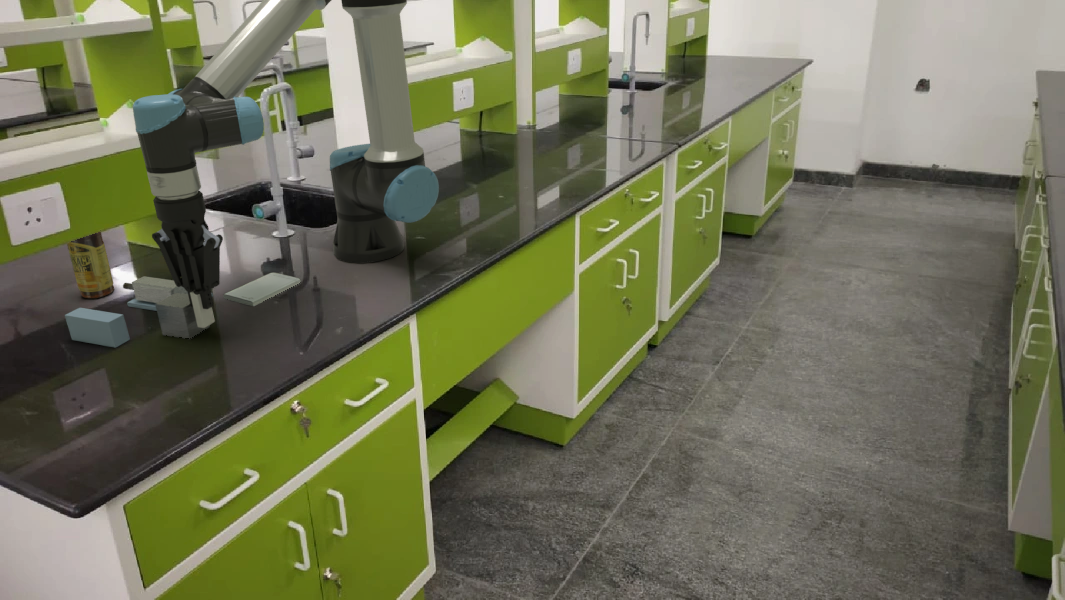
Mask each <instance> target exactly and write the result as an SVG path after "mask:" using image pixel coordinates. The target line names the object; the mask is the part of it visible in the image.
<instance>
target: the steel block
mask: <svg viewBox="0 0 1065 600" xmlns="http://www.w3.org/2000/svg"><path fill="white" fill-rule="evenodd" d="M155 306H156V310H157V311H156V314H157V318H158V322H159V325H160V329H161V334H162V336H166V335H167V336H168V337H172V336H174V337H173V338H179V337H182V338H181V339H185V338H189V339H188V340H191V339H193V338H194V336H195V335H196V336H198V335H199V334H201V333H203V332H204V331H206V330H207V329H209V328H210V325H209V326H207V327H205V328H201V327H198V326H197V321H196V317H195V313H194V308H193V307H191V305H190V301H189V296H188V294H182V293H174V294H173V295H171V296H169V297H167V298H165V299H163V300H162V301H160V302H158V303H156V304H155ZM205 329H206V330H205ZM203 330H204V331H203ZM202 331H203V332H202ZM200 332H201V333H200ZM197 334H198V335H197ZM196 336H195V337H196ZM192 337H193V338H192ZM190 338H191V339H190Z"/></svg>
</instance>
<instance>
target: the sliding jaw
mask: <svg viewBox="0 0 1065 600" xmlns="http://www.w3.org/2000/svg"><path fill="white" fill-rule="evenodd" d="M122 288H123V289H124V290H129V291H133V293H134V296H135V297H134V298H136V300H141V301H147V302H154V303H158V302H160V301H162V300H163V299H165V298H167V297H169V296H171V295H173V294H174V293H182V294H188V293H187V291H186V290H185V288H183V287H181V286H180V287H177V286H176V284H175V282H174V280H173V279H172V280H171V279H165V278H159V277H151V276H145V275H144V276H142V277H140V278H137V279H135V280H133V281H132V282H131V283H129V282H124V283H123V285H122Z"/></svg>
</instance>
